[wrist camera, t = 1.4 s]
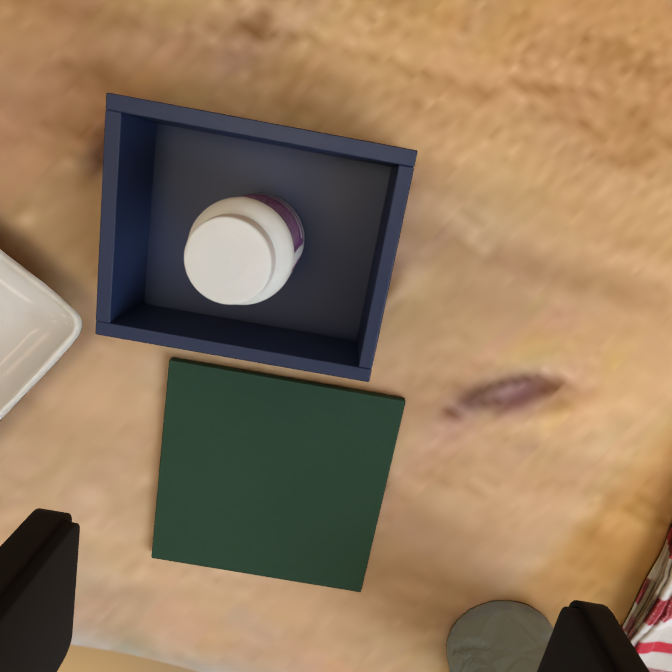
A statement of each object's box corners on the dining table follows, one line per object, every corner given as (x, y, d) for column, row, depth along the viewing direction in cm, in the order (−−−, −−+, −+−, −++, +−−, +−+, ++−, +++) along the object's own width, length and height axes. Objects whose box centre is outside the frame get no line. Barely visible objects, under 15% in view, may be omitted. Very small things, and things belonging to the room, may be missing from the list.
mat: (171, 357, 35) (169, 359, 35) (404, 397, 36) (405, 401, 35) (154, 552, 40) (151, 557, 39) (360, 586, 40) (360, 592, 40)
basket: (146, 106, 31) (105, 92, 26) (406, 155, 31) (417, 150, 26) (133, 311, 34) (94, 334, 29) (366, 352, 35) (368, 382, 30)
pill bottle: (220, 189, 32) (166, 192, 22) (308, 196, 32) (290, 203, 22) (218, 277, 33) (167, 314, 24) (301, 284, 33) (283, 324, 24)
